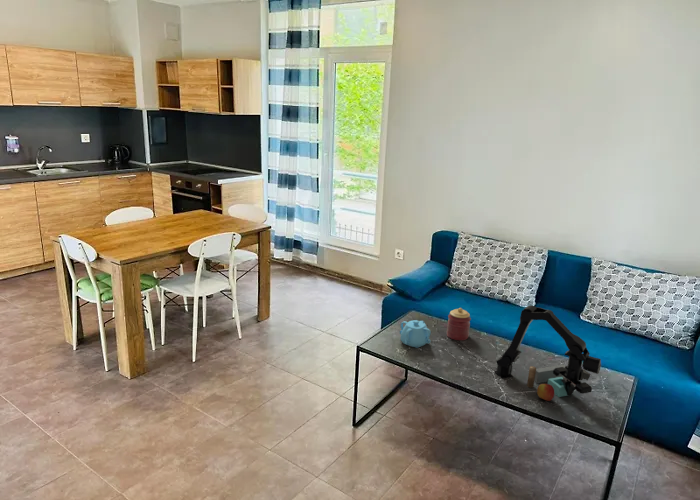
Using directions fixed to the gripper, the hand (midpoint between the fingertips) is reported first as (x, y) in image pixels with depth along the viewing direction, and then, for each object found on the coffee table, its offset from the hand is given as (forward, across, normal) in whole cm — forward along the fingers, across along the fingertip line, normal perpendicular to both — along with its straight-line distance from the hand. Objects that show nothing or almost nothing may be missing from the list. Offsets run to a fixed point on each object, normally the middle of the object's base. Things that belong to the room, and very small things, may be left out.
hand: (569, 396), depth 230 cm
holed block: (+1, +6, 0) cm, 6 cm away
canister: (+1, +72, +17) cm, 74 cm away
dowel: (+1, +14, +11) cm, 18 cm away
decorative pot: (+1, +70, +46) cm, 83 cm away
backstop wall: (+1, +17, -3) cm, 17 cm away
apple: (+1, +2, +12) cm, 12 cm away
